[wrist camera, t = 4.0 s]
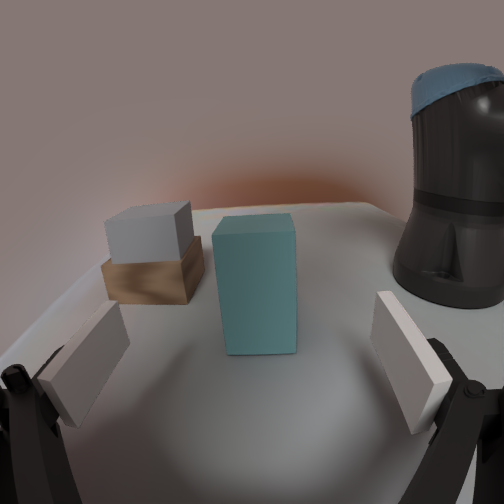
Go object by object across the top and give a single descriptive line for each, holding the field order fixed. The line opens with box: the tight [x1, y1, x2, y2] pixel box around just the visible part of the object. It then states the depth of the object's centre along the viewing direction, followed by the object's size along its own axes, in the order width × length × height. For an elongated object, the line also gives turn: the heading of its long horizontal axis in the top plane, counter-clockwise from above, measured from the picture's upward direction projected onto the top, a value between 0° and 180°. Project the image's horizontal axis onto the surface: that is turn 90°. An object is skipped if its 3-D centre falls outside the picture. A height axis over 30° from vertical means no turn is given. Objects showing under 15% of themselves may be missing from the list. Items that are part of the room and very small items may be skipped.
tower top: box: [104, 201, 194, 264], centre depth 31 cm, size 8×8×4 cm
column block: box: [212, 213, 297, 355], centre depth 22 cm, size 5×5×9 cm
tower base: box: [101, 236, 205, 305], centre depth 33 cm, size 9×9×4 cm
